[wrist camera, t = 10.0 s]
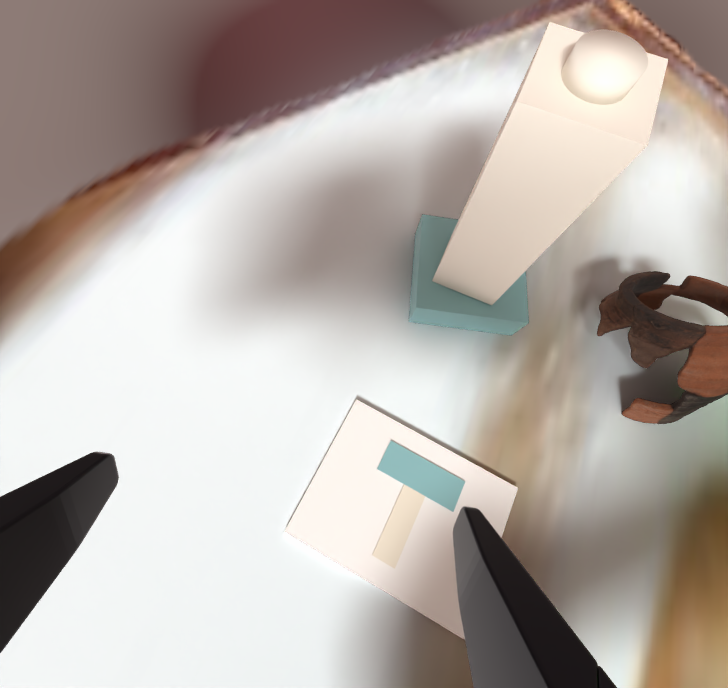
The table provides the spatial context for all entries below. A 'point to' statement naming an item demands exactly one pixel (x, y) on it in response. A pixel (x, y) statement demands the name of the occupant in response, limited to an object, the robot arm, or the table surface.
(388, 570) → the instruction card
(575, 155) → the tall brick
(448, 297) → the base brick
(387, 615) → the table surface
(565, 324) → the table surface
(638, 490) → the table surface
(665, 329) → the brown curved loop piece
